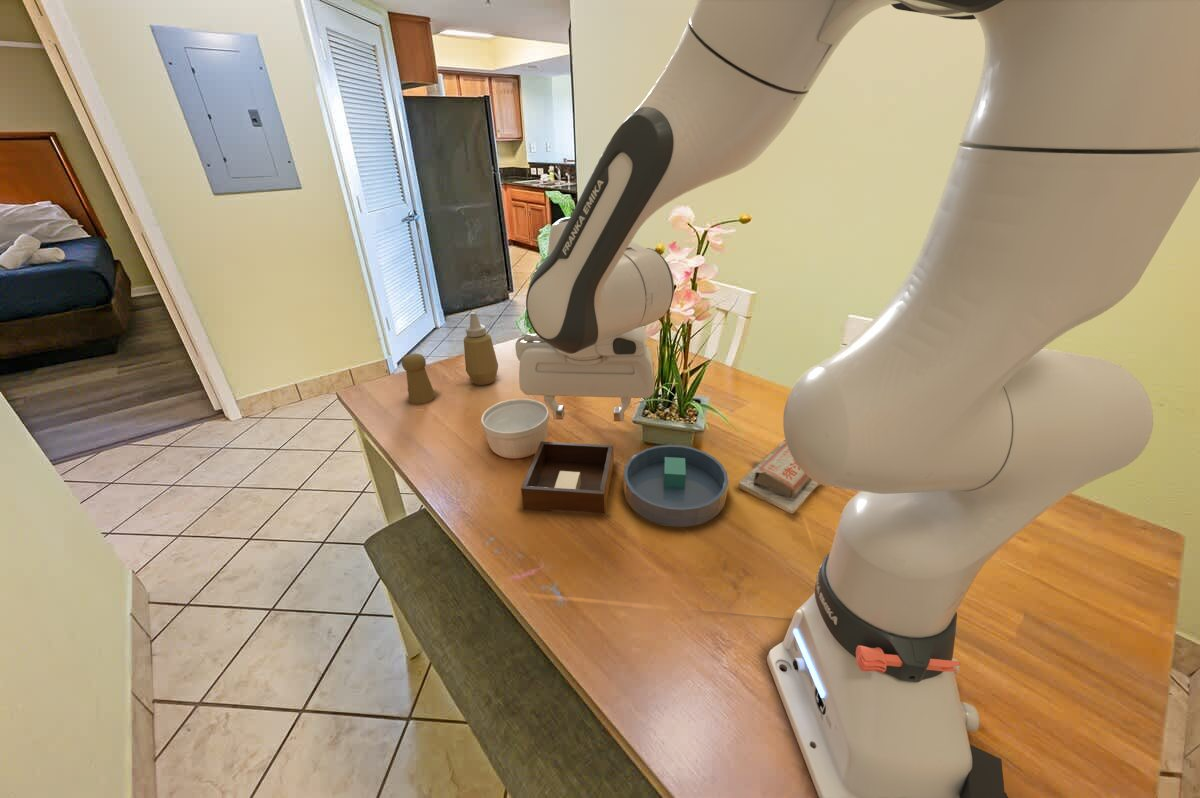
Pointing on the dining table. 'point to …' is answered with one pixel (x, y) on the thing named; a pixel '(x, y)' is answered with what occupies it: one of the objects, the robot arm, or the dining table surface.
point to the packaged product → (779, 480)
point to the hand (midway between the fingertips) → (588, 418)
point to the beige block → (568, 480)
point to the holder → (573, 458)
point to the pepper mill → (417, 379)
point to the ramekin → (516, 427)
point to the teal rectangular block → (674, 472)
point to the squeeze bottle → (479, 353)
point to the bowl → (675, 504)
